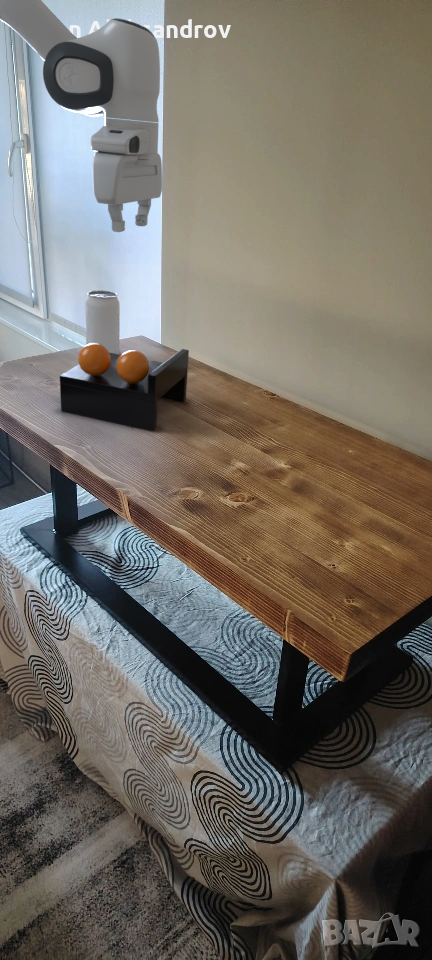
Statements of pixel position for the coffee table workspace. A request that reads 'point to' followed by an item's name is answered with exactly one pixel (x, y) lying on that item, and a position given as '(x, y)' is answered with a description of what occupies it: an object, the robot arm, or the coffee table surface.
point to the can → (103, 319)
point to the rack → (122, 385)
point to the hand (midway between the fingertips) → (130, 228)
